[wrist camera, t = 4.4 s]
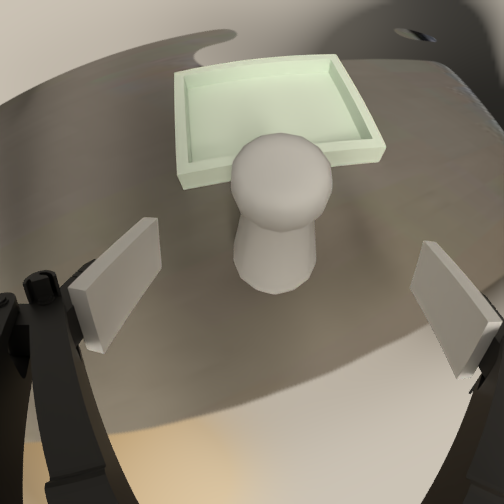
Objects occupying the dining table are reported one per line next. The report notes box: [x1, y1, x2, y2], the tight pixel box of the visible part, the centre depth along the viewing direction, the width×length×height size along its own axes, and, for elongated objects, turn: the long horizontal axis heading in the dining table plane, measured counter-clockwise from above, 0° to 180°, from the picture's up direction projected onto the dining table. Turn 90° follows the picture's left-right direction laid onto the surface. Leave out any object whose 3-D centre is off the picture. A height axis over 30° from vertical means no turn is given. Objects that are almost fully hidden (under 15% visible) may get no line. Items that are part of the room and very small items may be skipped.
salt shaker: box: [231, 133, 332, 295], centre depth 18 cm, size 6×6×13 cm
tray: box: [174, 54, 386, 190], centre depth 28 cm, size 18×14×2 cm
